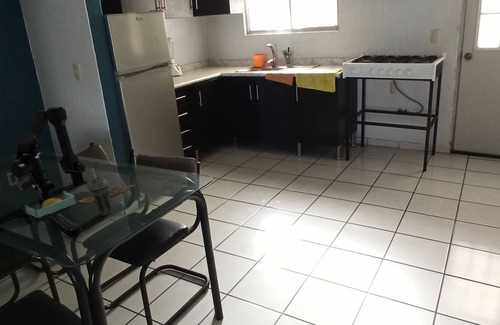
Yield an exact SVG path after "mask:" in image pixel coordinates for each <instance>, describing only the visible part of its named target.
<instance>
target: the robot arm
mask: <svg viewBox="0 0 500 325" xmlns="http://www.w3.org/2000/svg"><path fill="white" fill-rule="evenodd" d="M67 119H68V116H67V111H66V108H64V107H63V106H57V107H48V108H47V109H43V110H41V109H40V110H38V111H37V112H36V116H35V119H34V121H33V123H32V124H31V126H30V130H29V131H28V133H27V135H26V136H25V137H23V138H22V139H21V140H20V142H19V143H18V146H17V152H16V157H15V160H14V161H12V166H11V168H10V173H11V174H12V176H13V177H15V178H19V179H20V178H22V177H24V176H25V175H26V176H25V177H24V178H22V179H21V180H20V181H18V182H17V183H16V186H17V187H18V188H19V190H21V191H22V192H26V191H27V190H28V189H29V188H31V190H33V191H35V192H36V193H37V194H38V196H39V197H40V199H41V200H42V201H43V202H44V201H46V200H48V199H49V198H48V196H49V193H50V191H52V190H54V189H56V188H57V186H56V183H55V182H53V181H51V180H48V178H47V177H46V175H45V173H46V169H44V167H43V165H42V164H43V163H42V161H41V159H40V158H41V157H42V156H43V153H41V152H39V151H40V149H41V145H42V143H41V137H42V135H43V133H44V130H45V128H46V126H47V124H48V122H49V123H50V125H52V126H53V128H54V131H55V136H56V138H57V140H58V141H57V142H58V145H59V149H60V152H61V154H62V155H61V159H59V160H58V161H59V165H60V168H61V169H62V171H63V172H64V174H66V175H67V174H69V175H70V176H69V177H70V180H71V182H70V183H69V185H70V186H73V187H78V186H81V185H84V184H86V183H88V181H87V180H85V179H84V174H83V173H85V171H86V165H84V163H82V162H80V158H79V157H78V156H77V154H76V153H75V152H74V151H73V147H72V144H71V141H70V136H69V133H68V129H67V126H66V123H67Z"/></svg>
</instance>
